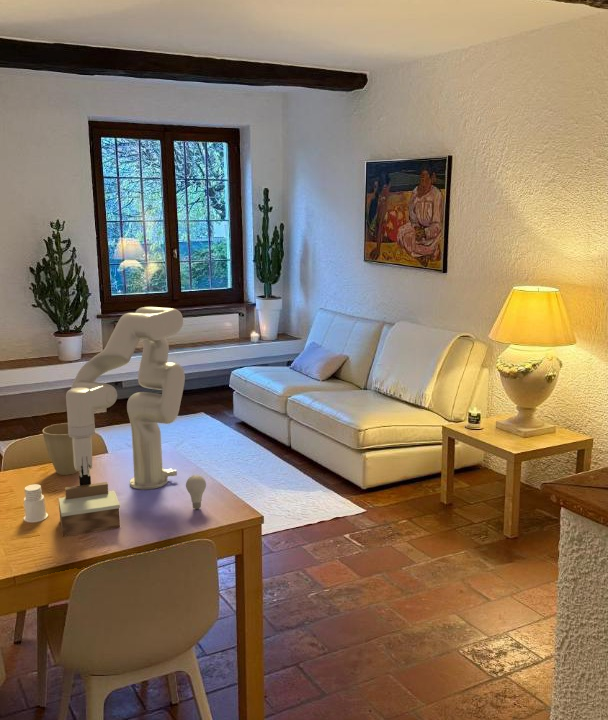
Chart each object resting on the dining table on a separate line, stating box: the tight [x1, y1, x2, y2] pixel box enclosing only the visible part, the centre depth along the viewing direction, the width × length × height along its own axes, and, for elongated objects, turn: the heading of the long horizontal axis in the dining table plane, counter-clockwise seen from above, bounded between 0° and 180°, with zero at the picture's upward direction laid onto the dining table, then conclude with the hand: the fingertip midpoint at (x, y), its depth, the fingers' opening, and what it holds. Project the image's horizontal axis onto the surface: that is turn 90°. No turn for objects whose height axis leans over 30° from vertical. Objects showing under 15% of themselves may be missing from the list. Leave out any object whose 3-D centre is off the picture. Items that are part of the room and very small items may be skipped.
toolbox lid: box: [58, 481, 121, 517], centre depth 215 cm, size 16×12×4 cm
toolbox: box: [58, 503, 121, 538], centre depth 219 cm, size 16×12×7 cm
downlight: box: [23, 483, 49, 523], centre depth 223 cm, size 8×7×10 cm
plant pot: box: [42, 422, 79, 476], centre depth 262 cm, size 15×15×16 cm
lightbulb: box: [185, 474, 207, 510], centre depth 229 cm, size 6×6×11 cm
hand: (85, 488), depth 222 cm, fingers closed
